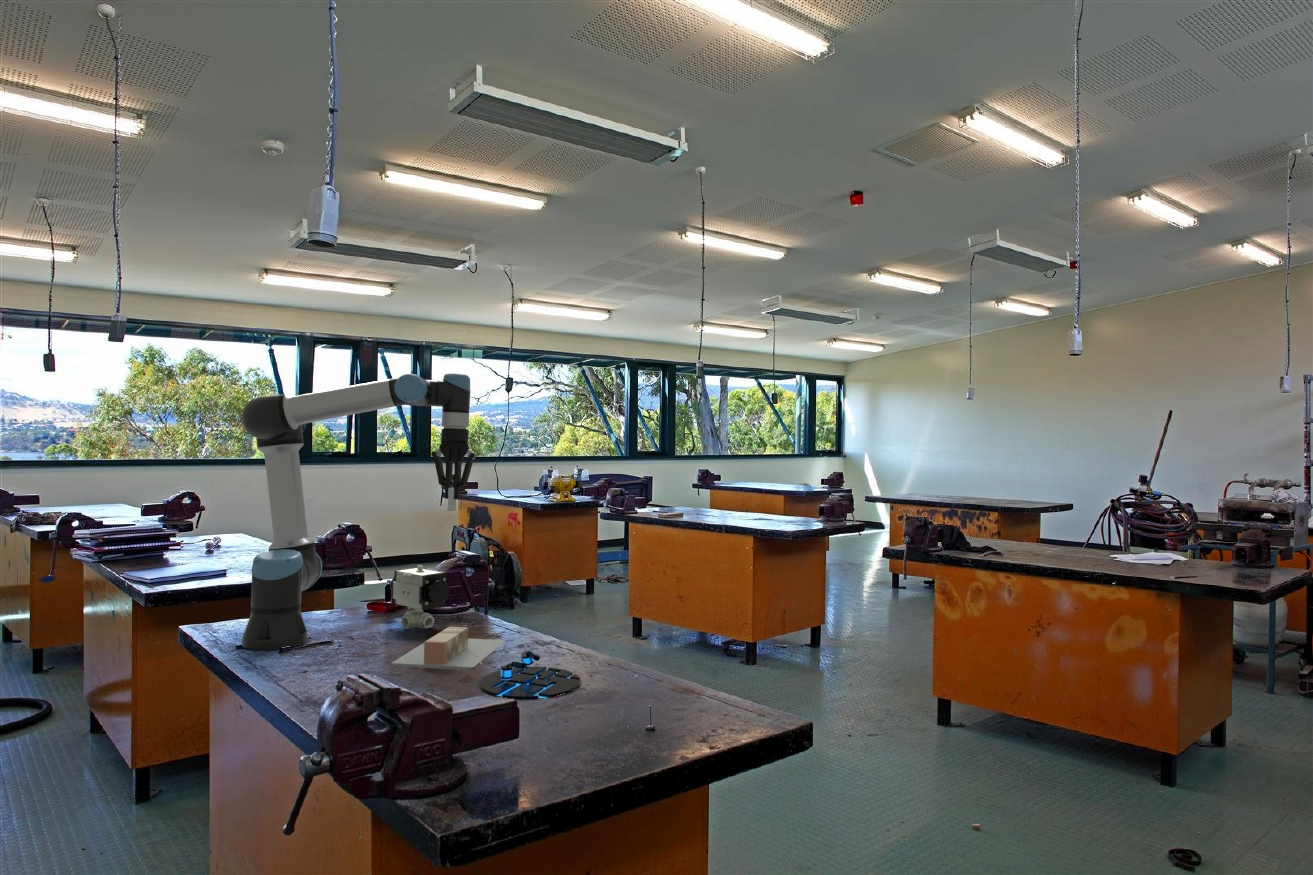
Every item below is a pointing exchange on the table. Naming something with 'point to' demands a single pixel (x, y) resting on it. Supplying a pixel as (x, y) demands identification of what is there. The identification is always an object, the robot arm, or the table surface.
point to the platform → (528, 680)
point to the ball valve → (419, 594)
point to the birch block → (445, 645)
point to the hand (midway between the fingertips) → (451, 510)
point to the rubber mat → (461, 661)
